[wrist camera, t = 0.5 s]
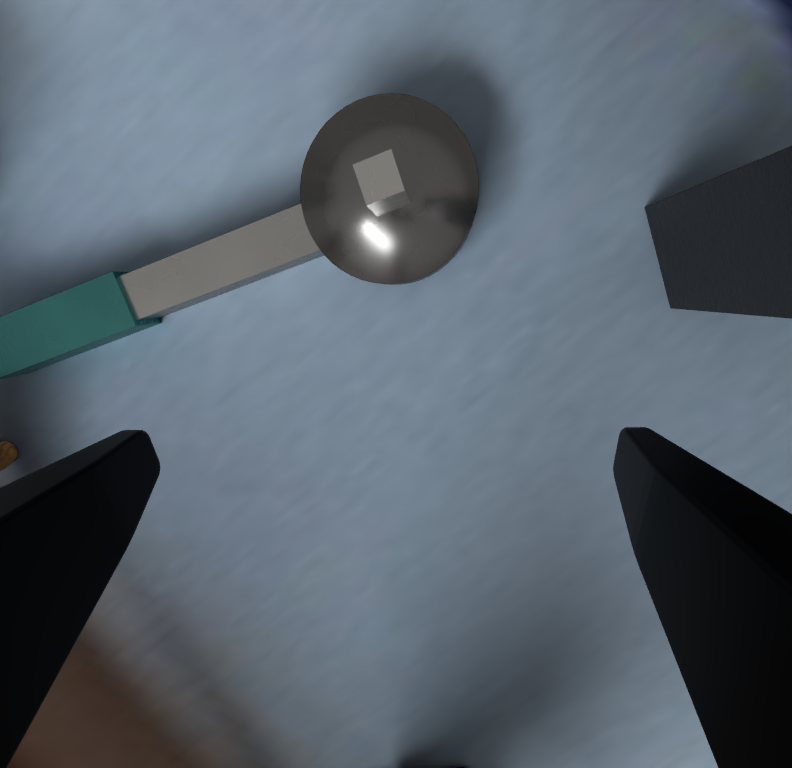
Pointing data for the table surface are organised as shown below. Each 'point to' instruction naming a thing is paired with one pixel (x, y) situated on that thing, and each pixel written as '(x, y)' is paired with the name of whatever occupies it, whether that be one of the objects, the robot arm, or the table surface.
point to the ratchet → (289, 232)
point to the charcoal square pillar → (729, 241)
